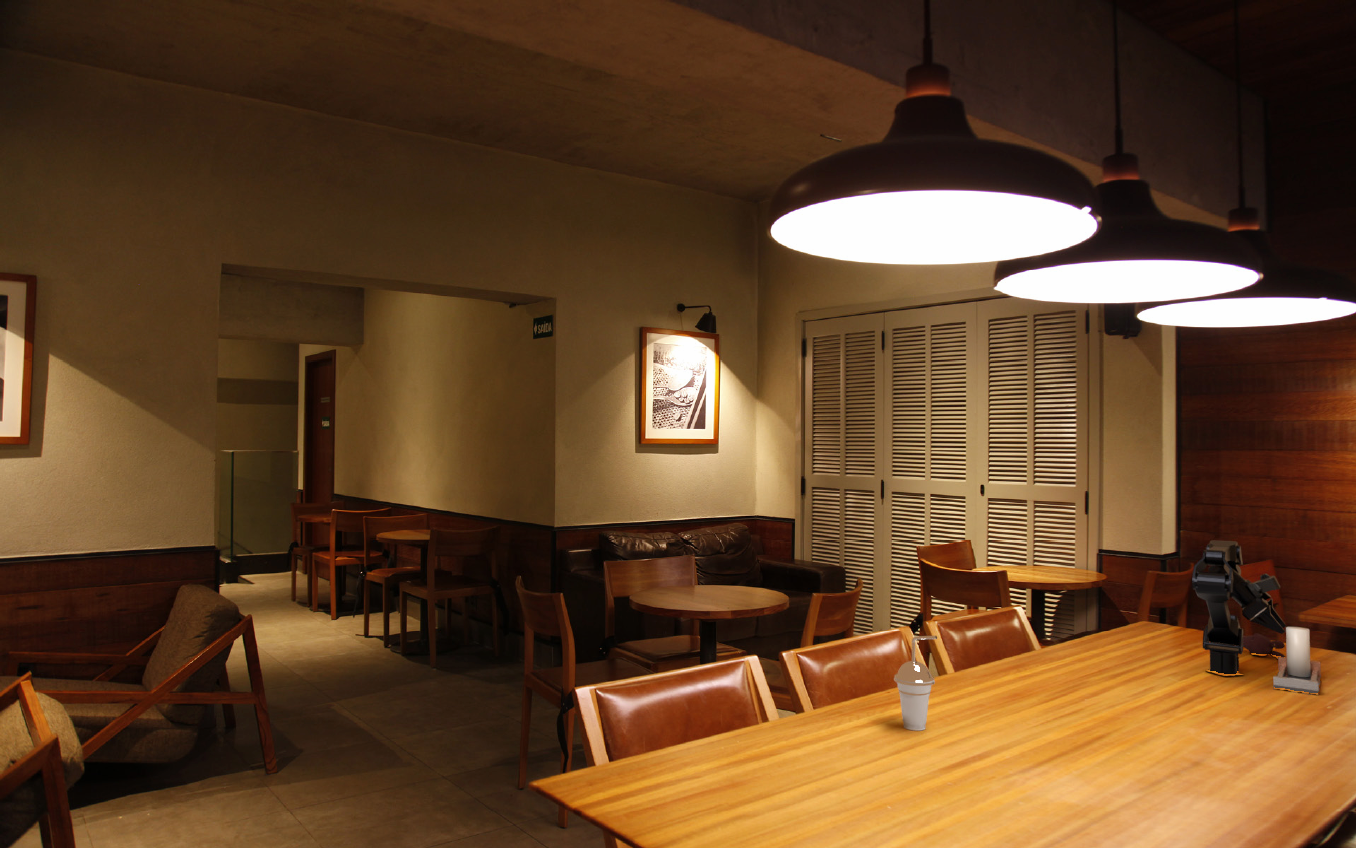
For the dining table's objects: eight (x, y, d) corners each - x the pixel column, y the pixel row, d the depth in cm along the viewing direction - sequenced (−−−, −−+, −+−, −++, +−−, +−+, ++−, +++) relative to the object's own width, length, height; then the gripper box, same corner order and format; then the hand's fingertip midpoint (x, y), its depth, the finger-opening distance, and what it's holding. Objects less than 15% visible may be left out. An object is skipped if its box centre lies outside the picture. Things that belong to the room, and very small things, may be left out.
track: (1318, 695, 210) (1317, 676, 210) (1273, 689, 215) (1273, 671, 216) (1320, 678, 226) (1320, 661, 227) (1279, 673, 232) (1278, 656, 232)
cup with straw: (918, 719, 188) (918, 627, 189) (945, 732, 180) (944, 635, 181) (885, 723, 185) (885, 630, 186) (911, 736, 177) (911, 638, 178)
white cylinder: (1310, 678, 222) (1309, 631, 223) (1286, 675, 225) (1285, 628, 226) (1310, 674, 226) (1309, 628, 227) (1287, 671, 229) (1286, 626, 230)
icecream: (1222, 631, 258) (1277, 645, 245) (1236, 623, 261) (1291, 636, 248) (1224, 653, 259) (1279, 668, 246) (1237, 644, 262) (1292, 658, 249)
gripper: (1256, 568, 224) (1309, 616, 217) (1260, 561, 239) (1310, 605, 232) (1221, 596, 229) (1272, 643, 222) (1227, 587, 244) (1275, 631, 237)
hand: (1284, 629), depth 228 cm, fingers open, 9 cm apart
